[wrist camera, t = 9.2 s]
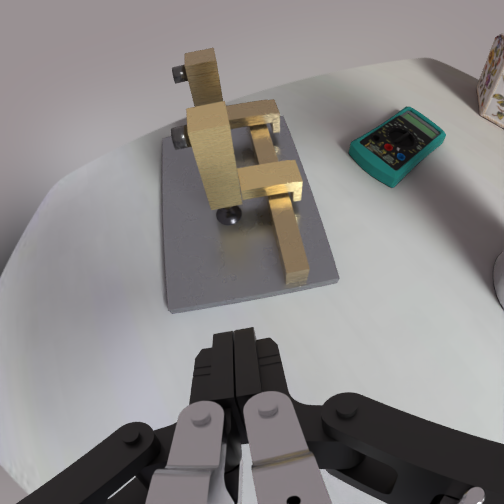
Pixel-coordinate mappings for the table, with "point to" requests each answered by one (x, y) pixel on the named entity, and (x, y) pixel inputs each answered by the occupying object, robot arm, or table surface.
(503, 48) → the decorative jar
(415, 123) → the digital multimeter
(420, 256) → the table surface
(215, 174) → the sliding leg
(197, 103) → the tan block assembly
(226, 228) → the flange plate
